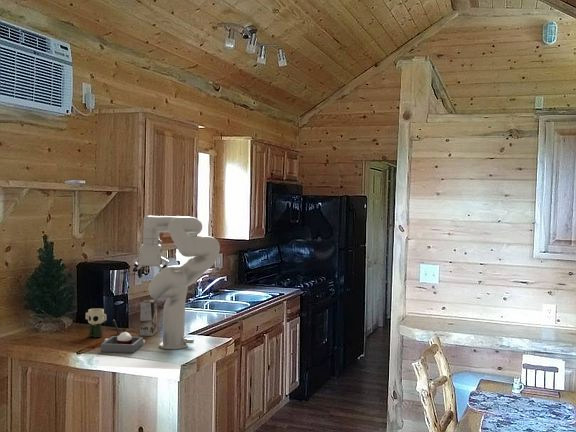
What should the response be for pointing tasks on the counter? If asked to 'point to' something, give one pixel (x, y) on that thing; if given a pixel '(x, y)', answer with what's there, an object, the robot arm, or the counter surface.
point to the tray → (121, 345)
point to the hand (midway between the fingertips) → (150, 278)
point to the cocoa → (123, 336)
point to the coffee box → (148, 318)
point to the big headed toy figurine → (95, 321)
